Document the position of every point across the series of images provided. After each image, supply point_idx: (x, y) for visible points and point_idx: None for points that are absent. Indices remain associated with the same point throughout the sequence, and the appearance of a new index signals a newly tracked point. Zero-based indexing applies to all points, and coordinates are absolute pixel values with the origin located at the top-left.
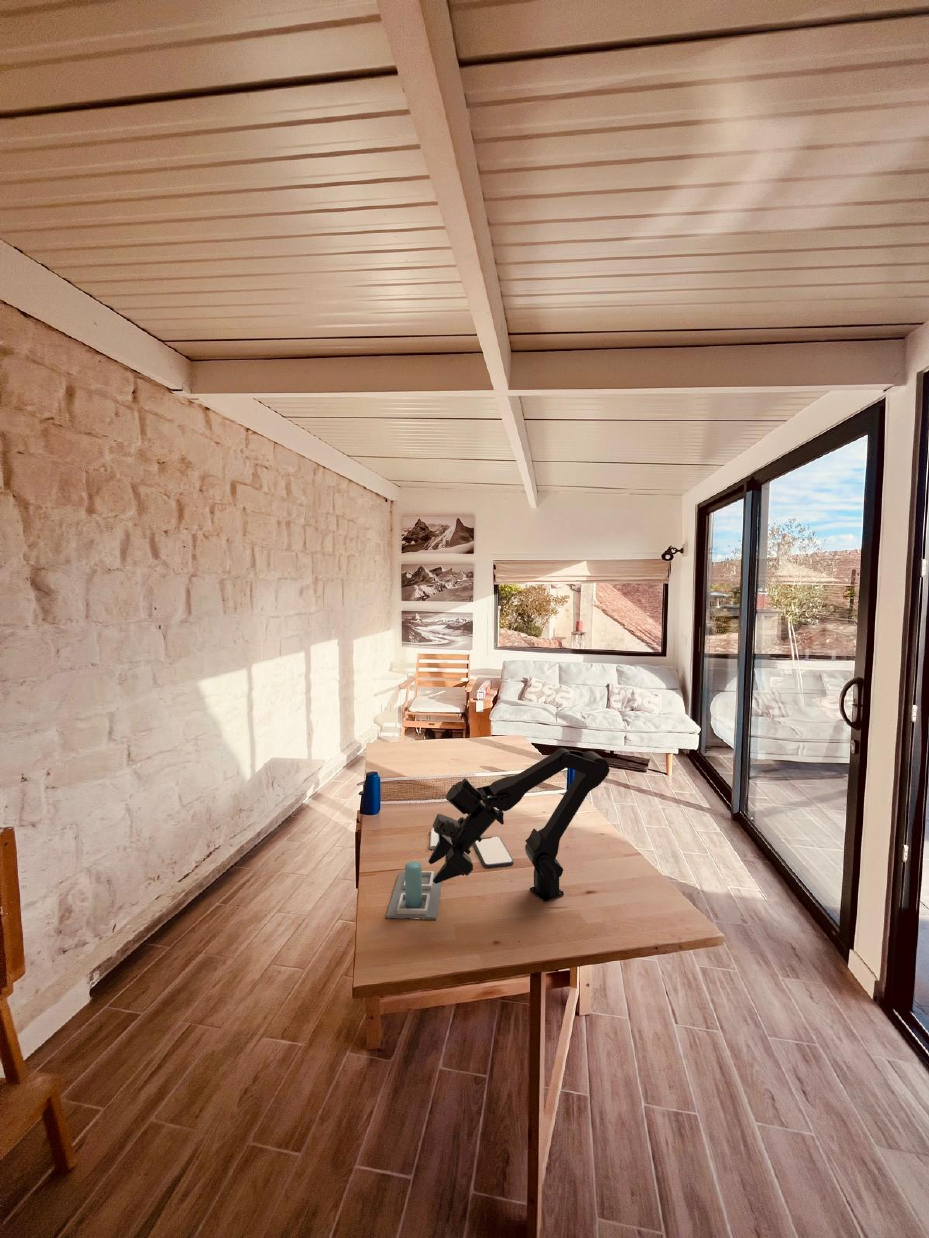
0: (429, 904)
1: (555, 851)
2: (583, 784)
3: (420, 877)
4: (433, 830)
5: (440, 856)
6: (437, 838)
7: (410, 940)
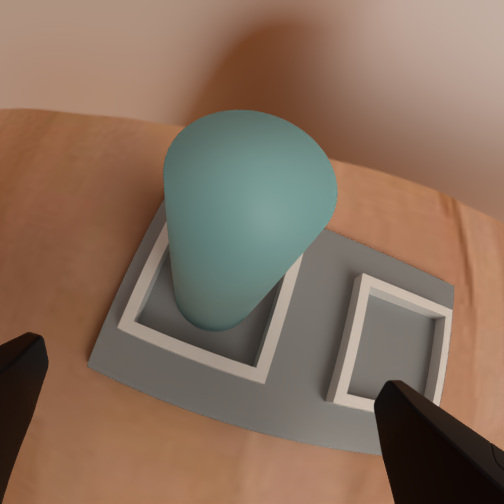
0: (198, 367)
1: None
2: None
3: (185, 268)
4: None
5: (406, 493)
6: None
7: (22, 230)
